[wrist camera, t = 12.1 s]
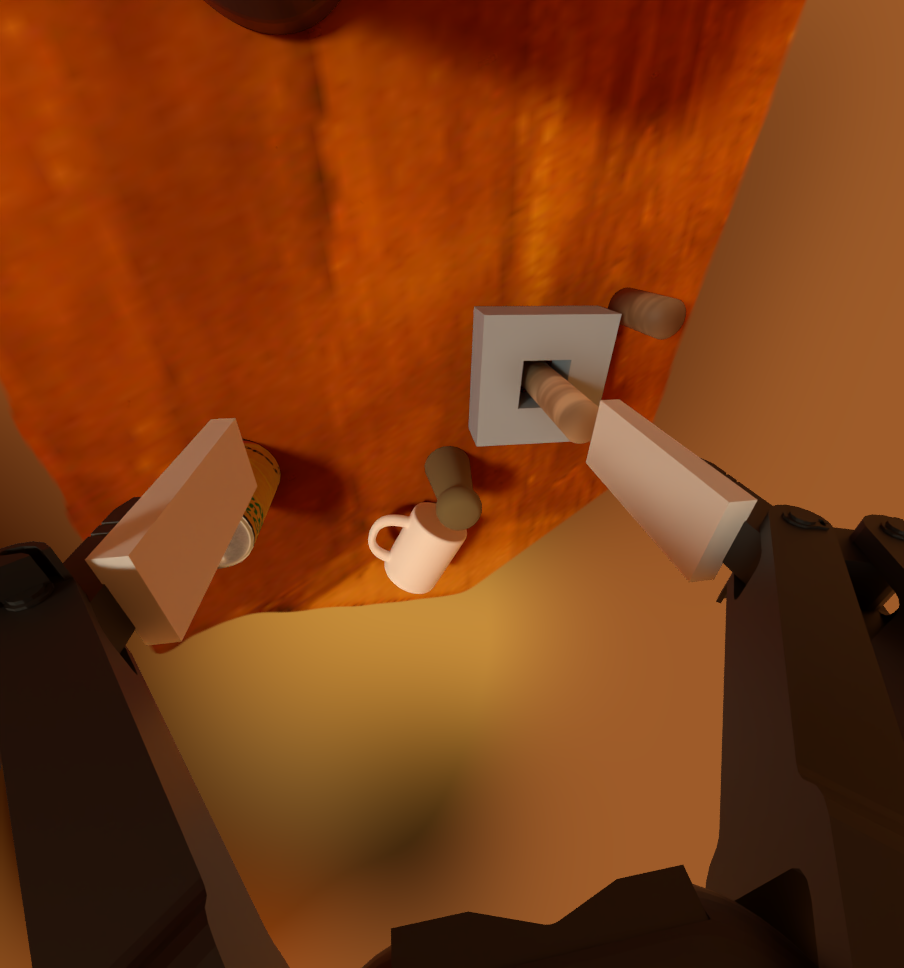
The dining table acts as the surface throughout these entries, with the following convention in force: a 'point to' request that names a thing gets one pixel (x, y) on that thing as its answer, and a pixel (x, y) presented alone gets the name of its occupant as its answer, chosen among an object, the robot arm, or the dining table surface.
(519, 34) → the dining table surface
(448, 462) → the cork
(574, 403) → the long pin
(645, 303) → the short pin
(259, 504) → the yellow food can
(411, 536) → the mug
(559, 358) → the hole block
